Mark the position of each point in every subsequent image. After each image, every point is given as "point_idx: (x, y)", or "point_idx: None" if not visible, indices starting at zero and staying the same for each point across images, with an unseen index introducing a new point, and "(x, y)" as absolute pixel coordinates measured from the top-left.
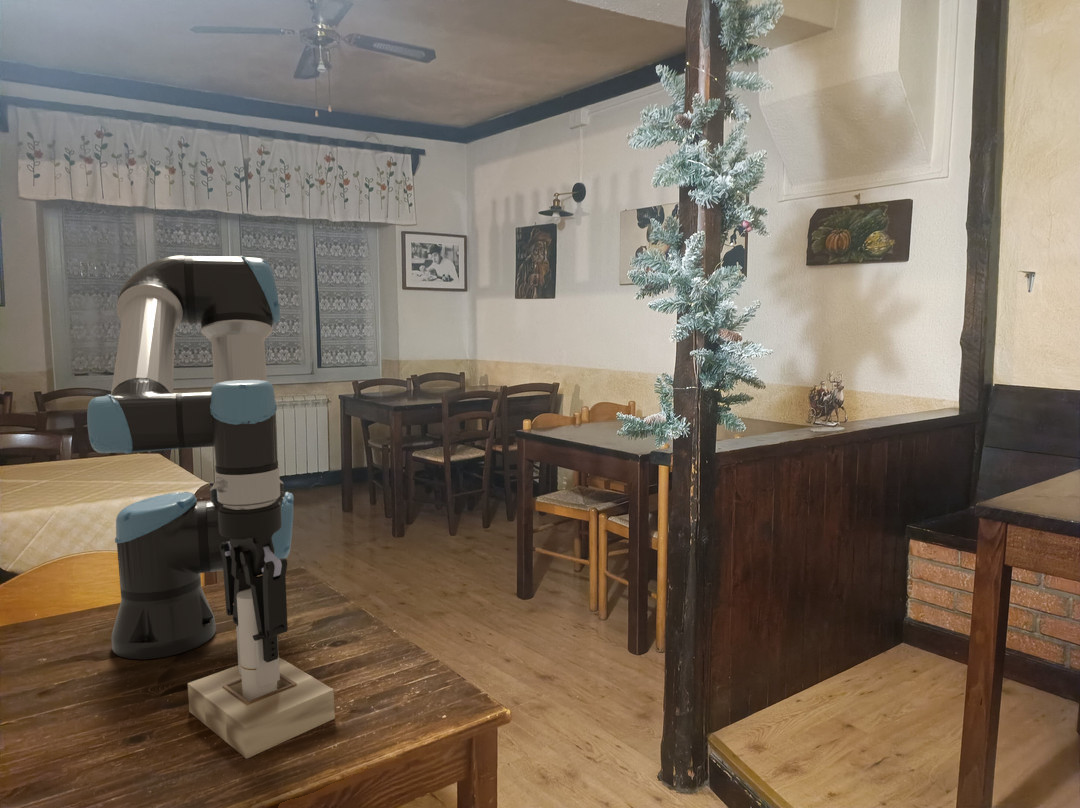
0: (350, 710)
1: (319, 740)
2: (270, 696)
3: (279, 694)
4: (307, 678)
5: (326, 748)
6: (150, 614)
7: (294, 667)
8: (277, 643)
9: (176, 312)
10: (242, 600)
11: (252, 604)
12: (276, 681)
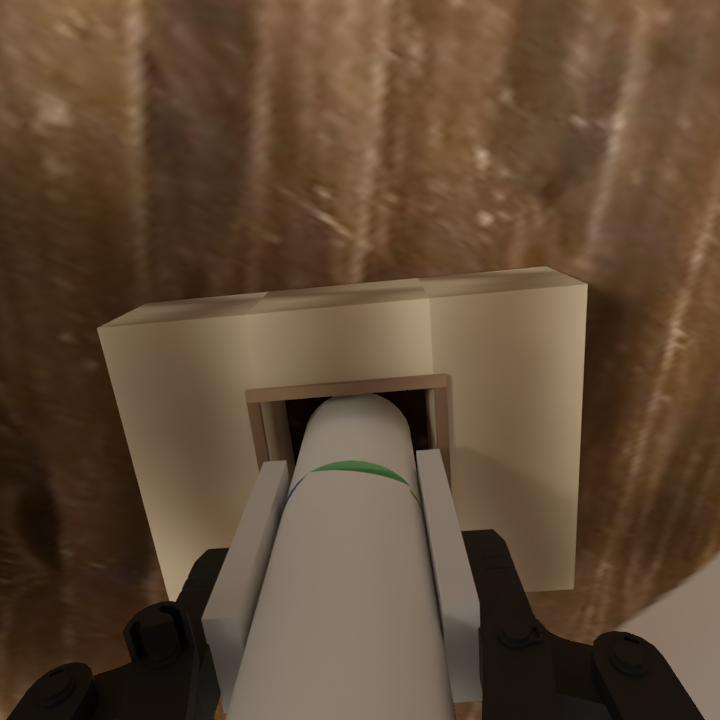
0: (539, 198)
1: (616, 357)
2: (454, 471)
3: (464, 445)
4: (423, 319)
5: (670, 361)
6: None
7: (293, 316)
8: (523, 589)
9: None
10: None
11: None
12: (389, 431)
